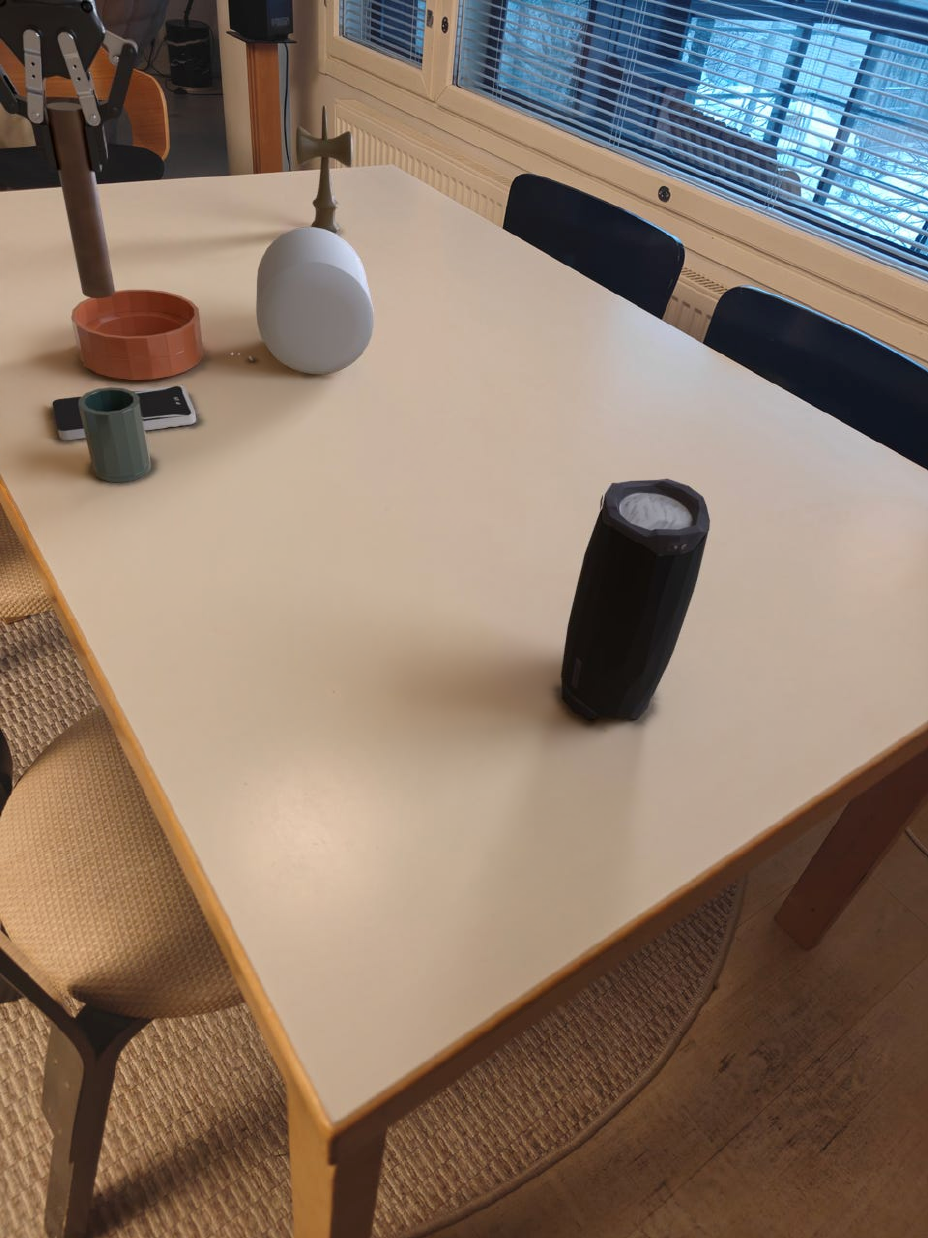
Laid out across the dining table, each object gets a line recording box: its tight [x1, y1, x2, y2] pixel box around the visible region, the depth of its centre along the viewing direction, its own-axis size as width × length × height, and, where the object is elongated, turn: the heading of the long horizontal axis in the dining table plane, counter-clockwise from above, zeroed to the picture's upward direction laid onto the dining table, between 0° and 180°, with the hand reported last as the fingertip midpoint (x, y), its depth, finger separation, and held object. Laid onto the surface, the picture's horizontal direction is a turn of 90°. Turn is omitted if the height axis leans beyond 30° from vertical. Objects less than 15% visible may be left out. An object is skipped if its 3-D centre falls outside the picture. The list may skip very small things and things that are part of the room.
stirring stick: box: [46, 101, 116, 298], centre depth 79 cm, size 3×3×16 cm
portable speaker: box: [560, 478, 711, 721], centre depth 68 cm, size 9×9×20 cm
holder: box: [79, 386, 152, 483], centre depth 90 cm, size 6×6×8 cm
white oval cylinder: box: [230, 226, 375, 375], centre depth 116 cm, size 19×15×25 cm
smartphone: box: [51, 385, 197, 442], centre depth 101 cm, size 8×1×15 cm
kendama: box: [295, 105, 354, 234], centre depth 149 cm, size 6×10×20 cm, turn 98°
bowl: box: [71, 289, 205, 381], centre depth 111 cm, size 15×15×6 cm
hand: (75, 167), depth 77 cm, fingers closed on stirring stick, 3 cm apart
